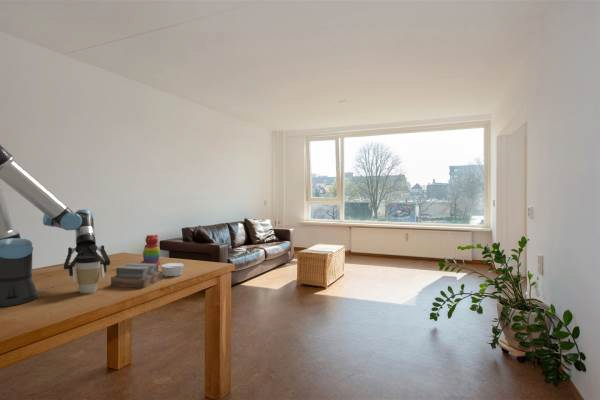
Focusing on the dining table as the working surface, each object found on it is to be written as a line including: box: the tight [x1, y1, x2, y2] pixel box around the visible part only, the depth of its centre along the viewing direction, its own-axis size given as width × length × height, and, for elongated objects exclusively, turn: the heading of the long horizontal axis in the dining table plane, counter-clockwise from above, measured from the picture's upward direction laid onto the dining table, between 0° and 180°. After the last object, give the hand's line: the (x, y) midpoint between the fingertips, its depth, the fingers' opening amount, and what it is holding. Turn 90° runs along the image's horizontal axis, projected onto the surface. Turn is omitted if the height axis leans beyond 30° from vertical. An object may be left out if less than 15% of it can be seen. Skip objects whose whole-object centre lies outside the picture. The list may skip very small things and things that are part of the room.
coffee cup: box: [75, 254, 103, 294], centre depth 144 cm, size 10×10×15 cm
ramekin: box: [160, 262, 185, 277], centre depth 176 cm, size 11×11×5 cm
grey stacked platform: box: [110, 262, 164, 289], centre depth 159 cm, size 16×16×8 cm
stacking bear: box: [139, 234, 161, 266], centre depth 199 cm, size 11×10×18 cm
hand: (89, 280), depth 141 cm, fingers closed on coffee cup, 10 cm apart
